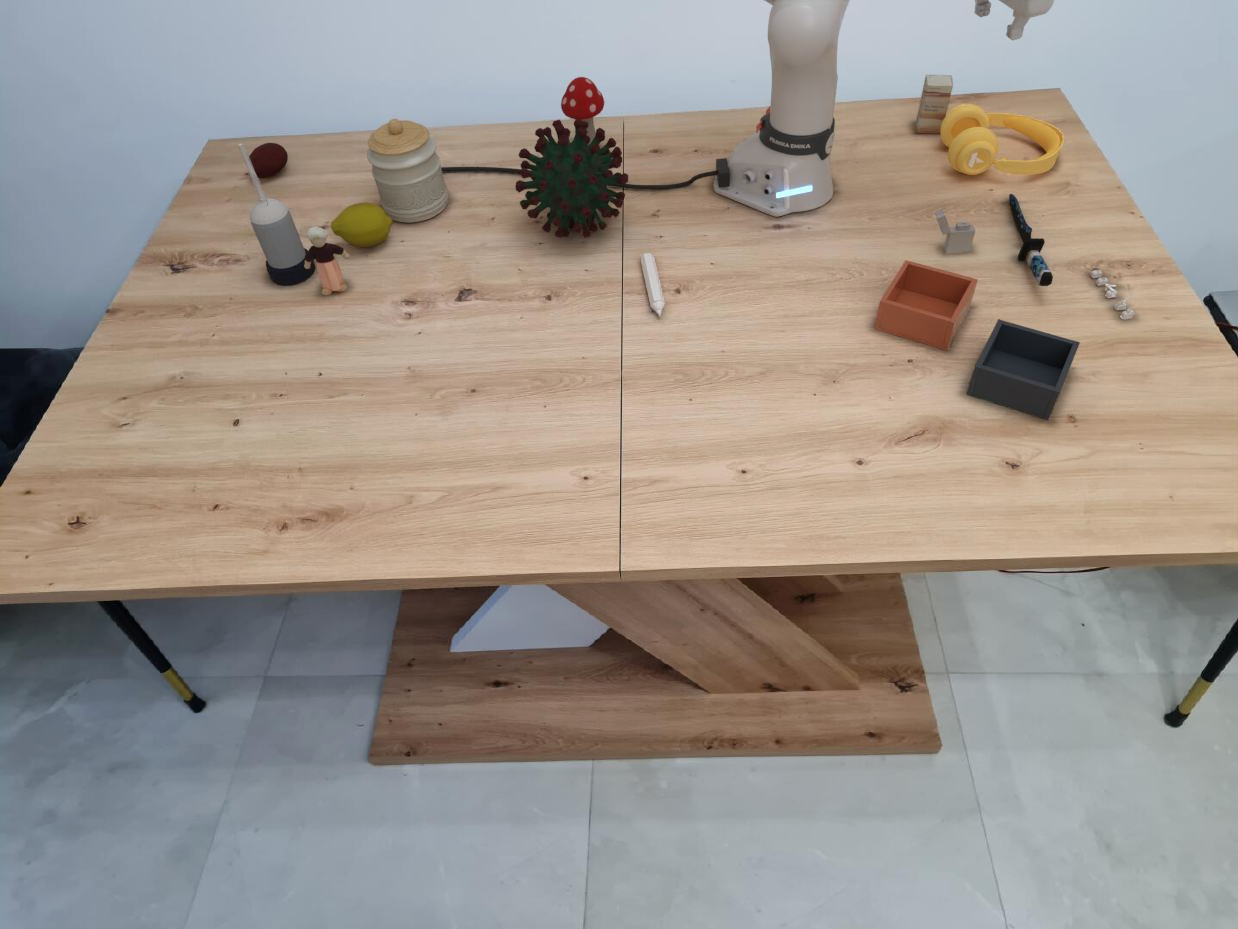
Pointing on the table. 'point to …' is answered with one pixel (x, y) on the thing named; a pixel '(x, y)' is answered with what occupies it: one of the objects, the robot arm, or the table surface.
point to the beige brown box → (933, 103)
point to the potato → (268, 159)
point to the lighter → (955, 234)
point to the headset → (995, 141)
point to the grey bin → (1022, 369)
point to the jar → (407, 171)
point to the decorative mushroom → (583, 102)
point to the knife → (1030, 246)
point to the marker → (652, 283)
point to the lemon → (362, 225)
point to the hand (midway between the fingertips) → (997, 25)
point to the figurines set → (1113, 295)
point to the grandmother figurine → (325, 261)
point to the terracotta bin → (925, 304)
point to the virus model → (572, 179)
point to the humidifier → (277, 236)
